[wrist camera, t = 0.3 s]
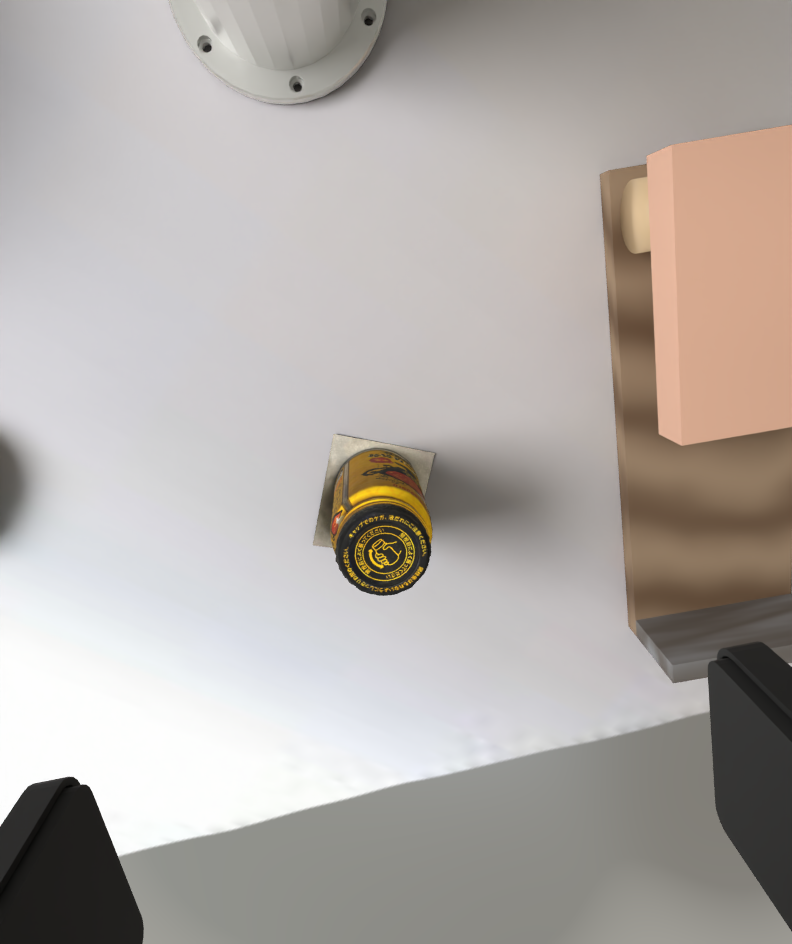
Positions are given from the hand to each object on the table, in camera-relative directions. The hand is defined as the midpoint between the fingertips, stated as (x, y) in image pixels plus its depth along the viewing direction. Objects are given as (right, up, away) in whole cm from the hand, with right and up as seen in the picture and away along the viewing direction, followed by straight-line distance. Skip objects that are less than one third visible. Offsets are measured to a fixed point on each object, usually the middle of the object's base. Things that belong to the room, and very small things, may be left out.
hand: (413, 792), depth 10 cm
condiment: (-2, +3, +37) cm, 37 cm away
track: (+21, +9, +36) cm, 43 cm away
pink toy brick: (+20, +17, +32) cm, 42 cm away
